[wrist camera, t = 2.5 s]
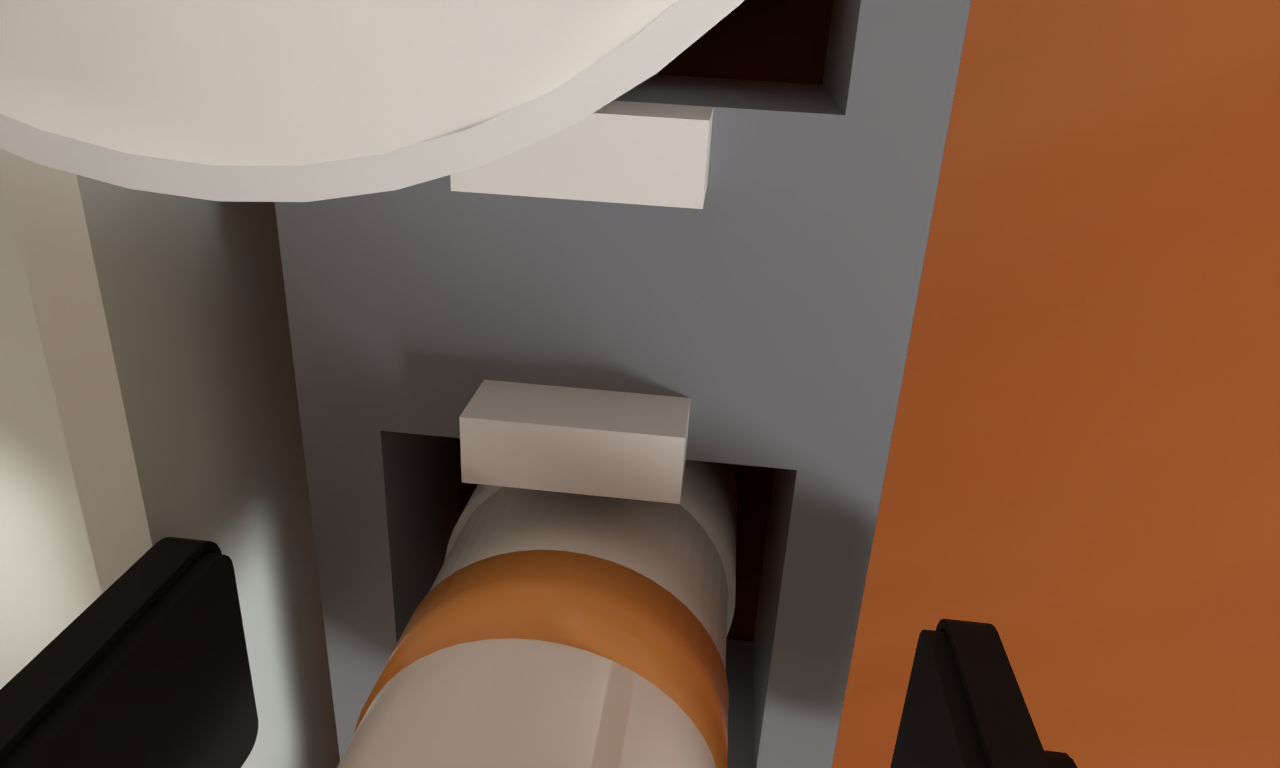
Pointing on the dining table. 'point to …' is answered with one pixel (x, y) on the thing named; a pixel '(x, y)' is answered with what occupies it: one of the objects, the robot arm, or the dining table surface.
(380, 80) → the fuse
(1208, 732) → the dining table surface
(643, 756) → the marked fuse
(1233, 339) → the dining table surface
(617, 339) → the fuse block
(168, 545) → the robot arm
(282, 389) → the tray
